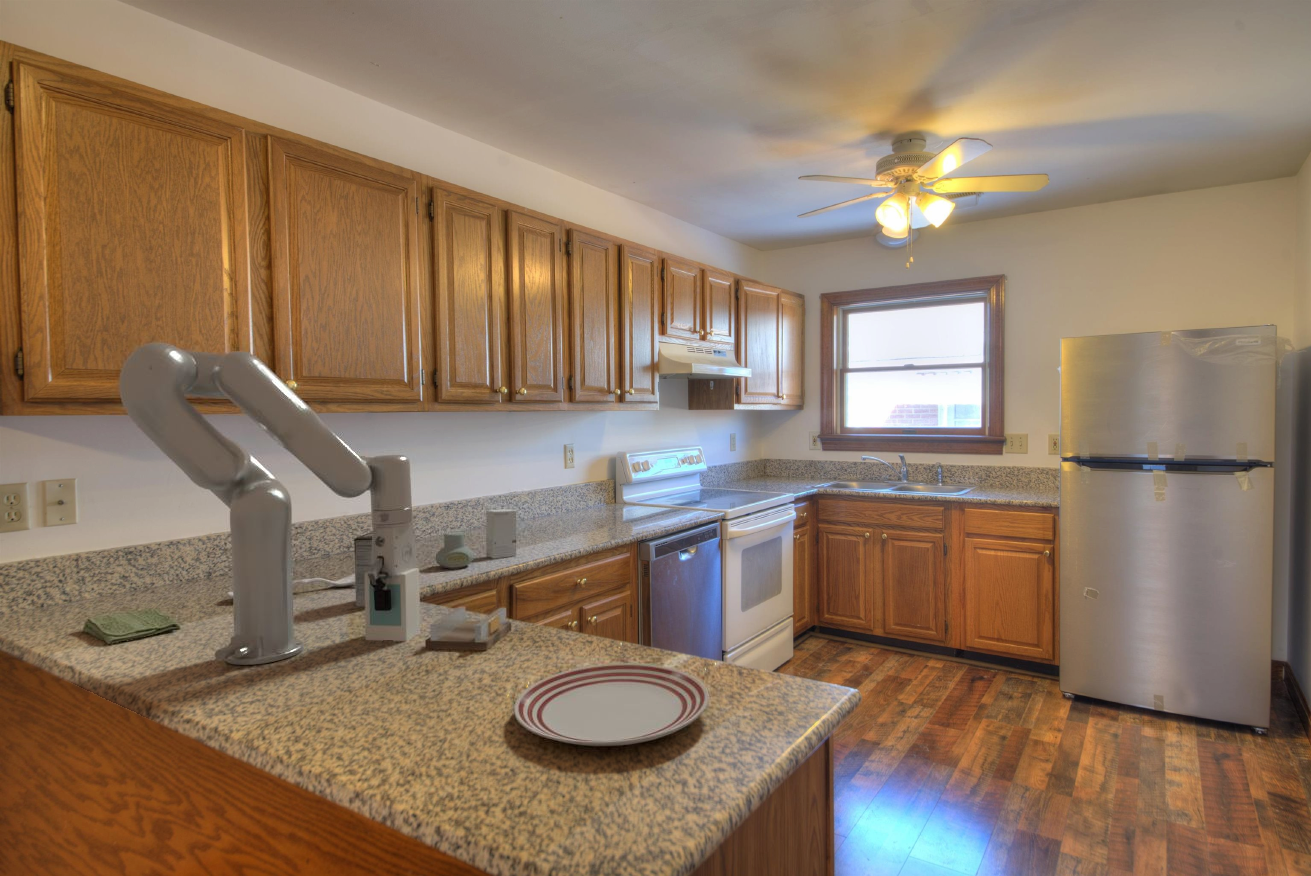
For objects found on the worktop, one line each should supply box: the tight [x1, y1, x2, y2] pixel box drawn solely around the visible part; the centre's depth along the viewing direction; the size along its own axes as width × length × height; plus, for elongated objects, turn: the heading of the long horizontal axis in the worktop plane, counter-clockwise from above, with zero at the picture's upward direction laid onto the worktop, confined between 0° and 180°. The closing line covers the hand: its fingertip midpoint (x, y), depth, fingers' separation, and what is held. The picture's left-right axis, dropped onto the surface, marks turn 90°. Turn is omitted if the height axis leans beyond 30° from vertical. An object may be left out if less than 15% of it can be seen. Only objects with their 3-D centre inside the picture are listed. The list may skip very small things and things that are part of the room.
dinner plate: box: [513, 662, 710, 747], centre depth 98 cm, size 28×27×3 cm
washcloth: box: [82, 608, 181, 645], centre depth 143 cm, size 13×18×3 cm
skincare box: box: [485, 508, 517, 560], centre depth 221 cm, size 8×6×15 cm
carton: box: [364, 567, 421, 642], centre depth 137 cm, size 6×8×13 cm
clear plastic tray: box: [429, 606, 507, 642], centre depth 135 cm, size 13×10×3 cm
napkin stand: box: [424, 620, 512, 652], centre depth 135 cm, size 13×12×2 cm
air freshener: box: [434, 531, 475, 570], centre depth 205 cm, size 11×8×10 cm
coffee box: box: [353, 531, 373, 608], centre depth 165 cm, size 9×6×16 cm
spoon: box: [226, 572, 355, 599], centre depth 175 cm, size 9×32×4 cm, turn 126°
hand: (396, 603), depth 138 cm, fingers open, 9 cm apart
